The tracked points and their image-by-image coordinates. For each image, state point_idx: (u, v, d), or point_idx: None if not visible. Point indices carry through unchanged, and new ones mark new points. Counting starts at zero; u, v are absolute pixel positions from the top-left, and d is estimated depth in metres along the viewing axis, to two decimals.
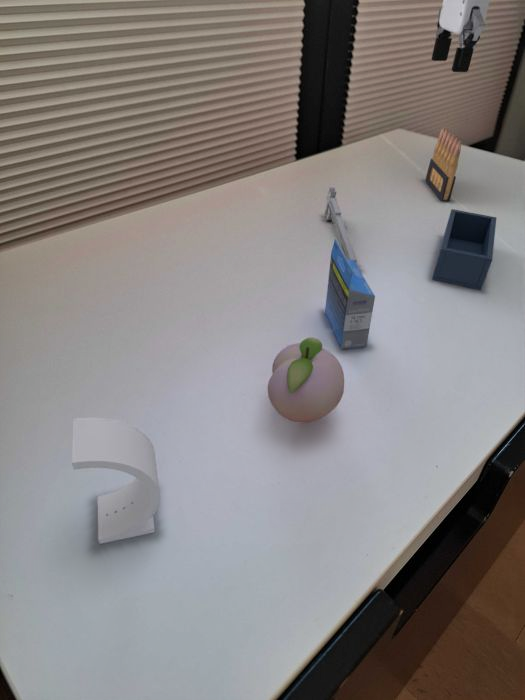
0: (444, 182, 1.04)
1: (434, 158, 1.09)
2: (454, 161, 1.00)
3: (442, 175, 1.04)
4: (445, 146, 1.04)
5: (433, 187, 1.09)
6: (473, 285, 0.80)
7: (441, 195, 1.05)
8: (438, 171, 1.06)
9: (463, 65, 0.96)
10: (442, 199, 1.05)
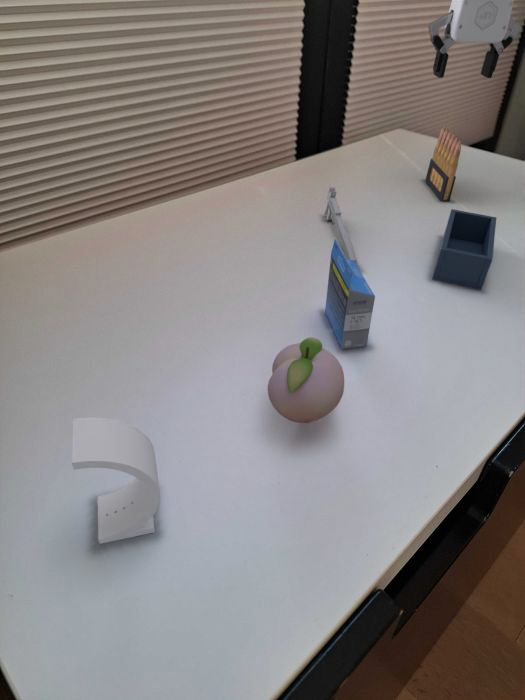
0: (444, 182, 1.04)
1: (434, 158, 1.09)
2: (454, 161, 1.00)
3: (442, 175, 1.04)
4: (445, 146, 1.04)
5: (433, 187, 1.09)
6: (473, 285, 0.80)
7: (441, 195, 1.05)
8: (438, 171, 1.06)
9: (434, 68, 0.95)
10: (442, 199, 1.05)
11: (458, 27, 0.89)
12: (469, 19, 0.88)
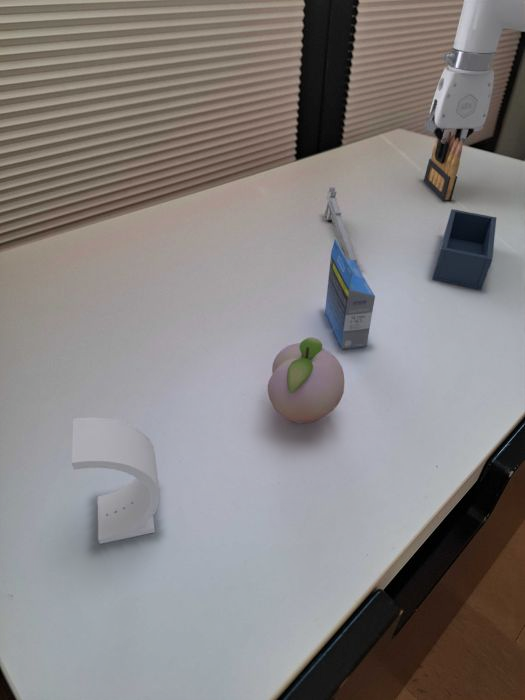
0: (446, 182, 1.04)
1: (433, 158, 1.09)
2: (456, 161, 1.00)
3: (443, 175, 1.04)
4: None
5: (433, 187, 1.09)
6: (473, 285, 0.80)
7: (443, 195, 1.05)
8: (438, 171, 1.06)
9: (436, 155, 1.04)
10: (444, 199, 1.05)
11: (441, 116, 0.97)
12: (451, 109, 0.96)
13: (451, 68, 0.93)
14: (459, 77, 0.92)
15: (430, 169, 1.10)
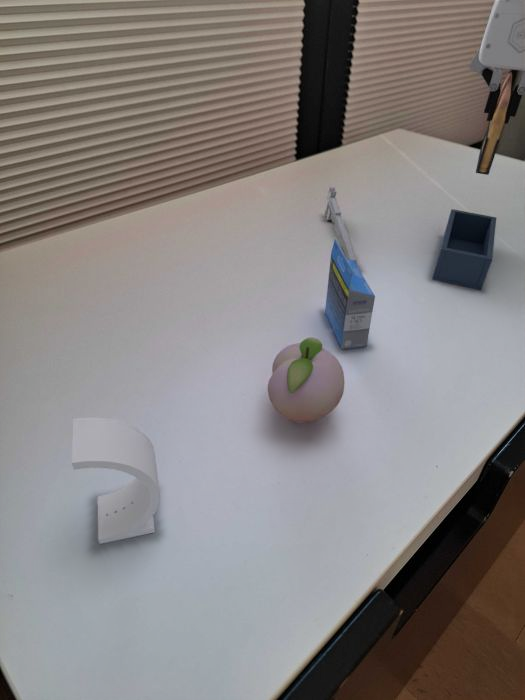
0: (483, 146, 0.75)
1: None
2: (498, 116, 0.71)
3: (485, 137, 0.75)
4: (500, 98, 0.75)
5: (479, 156, 0.80)
6: (473, 285, 0.80)
7: (477, 165, 0.76)
8: (486, 133, 0.77)
9: None
10: (477, 170, 0.76)
11: (485, 46, 0.69)
12: (500, 37, 0.68)
13: None
14: None
15: None
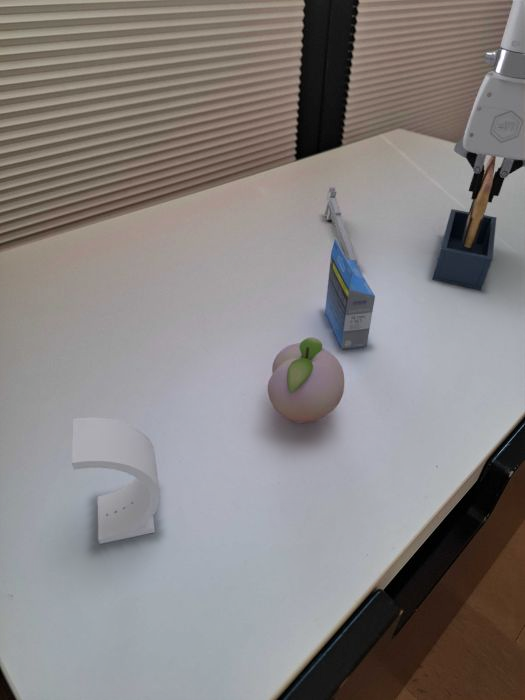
0: (468, 224, 0.78)
1: None
2: (481, 198, 0.75)
3: (470, 215, 0.79)
4: (484, 178, 0.78)
5: None
6: (473, 285, 0.80)
7: (463, 240, 0.80)
8: (471, 209, 0.81)
9: (469, 187, 0.79)
10: (462, 246, 0.80)
11: (469, 135, 0.72)
12: (483, 128, 0.71)
13: (492, 72, 0.69)
14: (496, 85, 0.68)
15: None
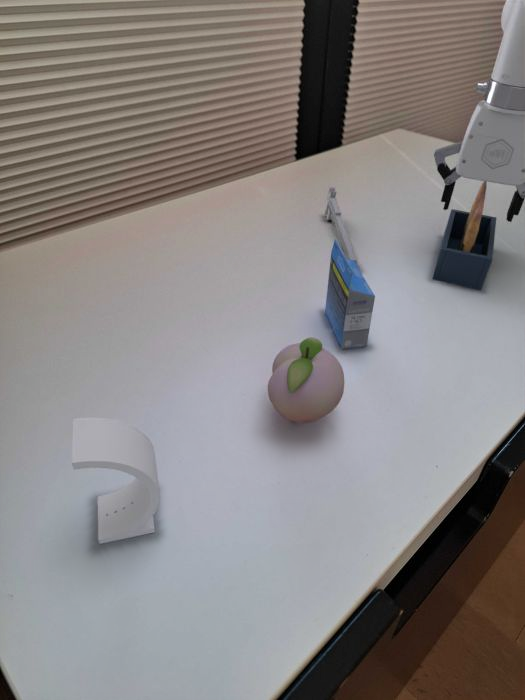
0: (460, 250, 0.81)
1: (469, 218, 0.86)
2: (472, 226, 0.78)
3: (462, 241, 0.82)
4: (475, 205, 0.81)
5: None
6: (473, 285, 0.80)
7: None
8: (463, 235, 0.84)
9: None
10: None
11: (461, 161, 0.75)
12: (475, 155, 0.73)
13: (483, 102, 0.71)
14: (487, 114, 0.70)
15: None
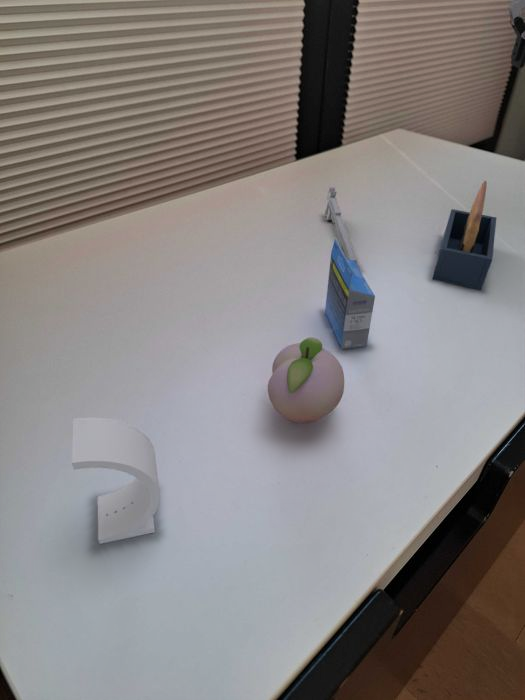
0: (460, 250, 0.81)
1: (469, 218, 0.86)
2: (472, 226, 0.78)
3: (462, 241, 0.82)
4: (475, 205, 0.81)
5: None
6: (473, 285, 0.80)
7: None
8: (463, 235, 0.84)
9: (513, 57, 0.80)
10: None
11: None
12: None
13: None
14: None
15: None
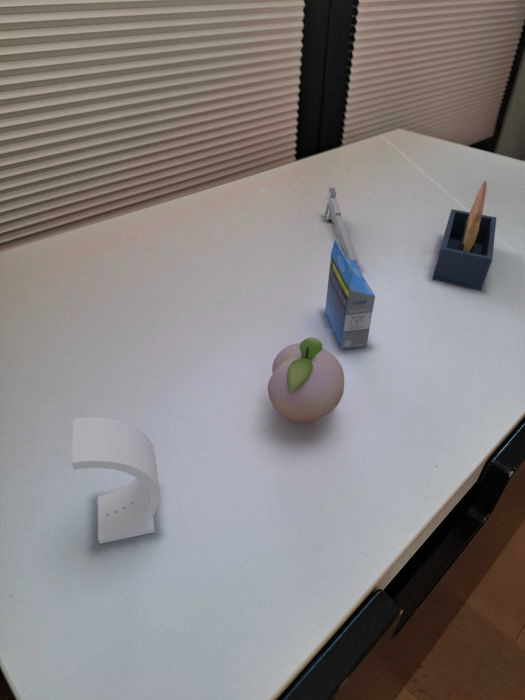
0: (460, 250, 0.81)
1: (469, 218, 0.86)
2: (472, 226, 0.78)
3: (462, 241, 0.82)
4: (475, 205, 0.81)
5: None
6: (473, 285, 0.80)
7: None
8: (463, 235, 0.84)
9: None
10: None
11: None
12: None
13: None
14: None
15: None
